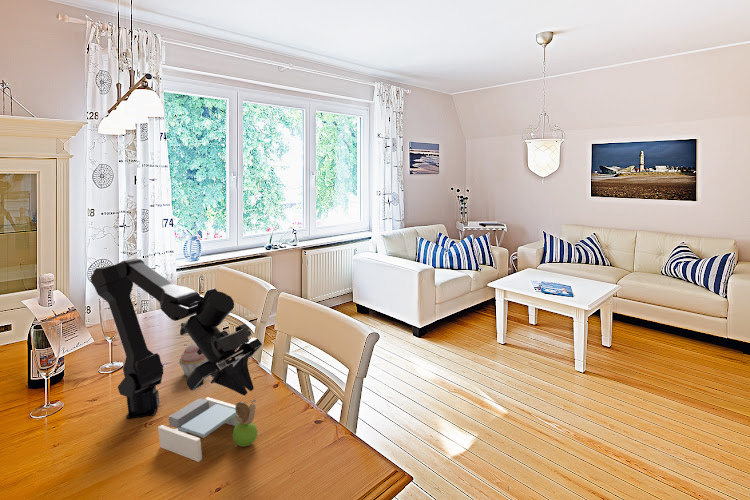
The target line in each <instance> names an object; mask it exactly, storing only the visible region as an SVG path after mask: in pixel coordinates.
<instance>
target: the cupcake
mask: <svg viewBox="0 0 750 500" xmlns="http://www.w3.org/2000/svg"><path fill="white" fill-rule="evenodd" d="M198 350H199V348H198V346H197V345H196V344H195V342H194V341H192V343H190V344H188V345H186V347H185V348H184V351H183V352H182V353H181V356H180V358H178V364H179V366H180V367H181V368H182V372H183V374H184V376H186V377H188V376H189V375H190V374H191V373H192V372H193V371H194V369H195V368H196V367H198V366H200V365H202V364H204V363H206V362H207V361H208V360H207V358H206V357H205V356H204V354H201V355H199V354H198V353H197V351H198Z"/></svg>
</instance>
